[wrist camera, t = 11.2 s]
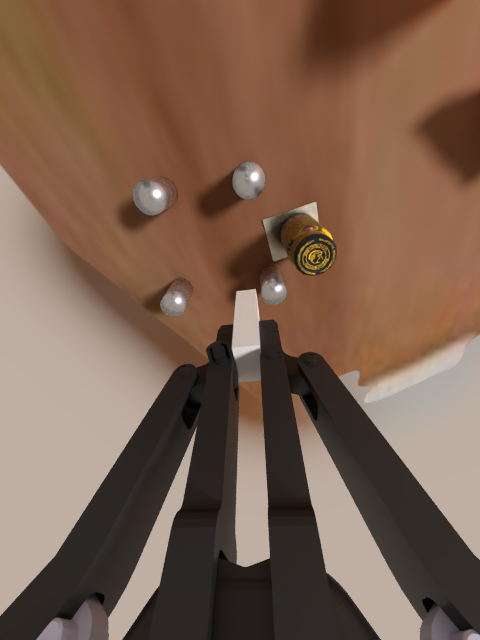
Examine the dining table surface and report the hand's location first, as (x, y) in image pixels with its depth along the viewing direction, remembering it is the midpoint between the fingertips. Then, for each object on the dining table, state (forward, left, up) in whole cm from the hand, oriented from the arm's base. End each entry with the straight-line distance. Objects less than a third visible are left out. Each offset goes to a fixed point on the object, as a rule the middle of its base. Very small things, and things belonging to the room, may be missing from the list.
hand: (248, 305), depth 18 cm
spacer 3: (-7, +1, -24) cm, 26 cm away
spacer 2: (+9, -14, -24) cm, 29 cm away
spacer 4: (+9, +3, -24) cm, 26 cm away
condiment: (+2, +7, -25) cm, 26 cm away
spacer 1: (-7, -12, -24) cm, 28 cm away
